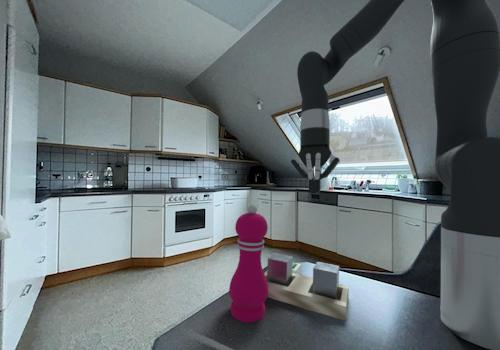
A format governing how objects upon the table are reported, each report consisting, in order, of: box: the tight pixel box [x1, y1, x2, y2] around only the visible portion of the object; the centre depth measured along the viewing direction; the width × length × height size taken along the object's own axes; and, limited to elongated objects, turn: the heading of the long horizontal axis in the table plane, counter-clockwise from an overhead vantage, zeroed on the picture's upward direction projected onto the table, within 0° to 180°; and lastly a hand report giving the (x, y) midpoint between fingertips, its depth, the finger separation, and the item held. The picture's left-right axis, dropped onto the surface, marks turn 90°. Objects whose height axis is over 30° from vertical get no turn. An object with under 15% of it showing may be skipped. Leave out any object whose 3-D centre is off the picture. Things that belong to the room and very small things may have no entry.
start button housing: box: [292, 262, 302, 275], centre depth 56 cm, size 5×5×3 cm
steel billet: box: [266, 252, 294, 287], centre depth 48 cm, size 4×4×7 cm
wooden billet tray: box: [264, 270, 350, 322], centre depth 46 cm, size 18×9×3 cm, turn 63°
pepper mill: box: [228, 204, 269, 323], centre depth 40 cm, size 7×7×20 cm
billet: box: [312, 261, 340, 300], centre depth 44 cm, size 4×4×7 cm
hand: (314, 194), depth 57 cm, fingers closed
